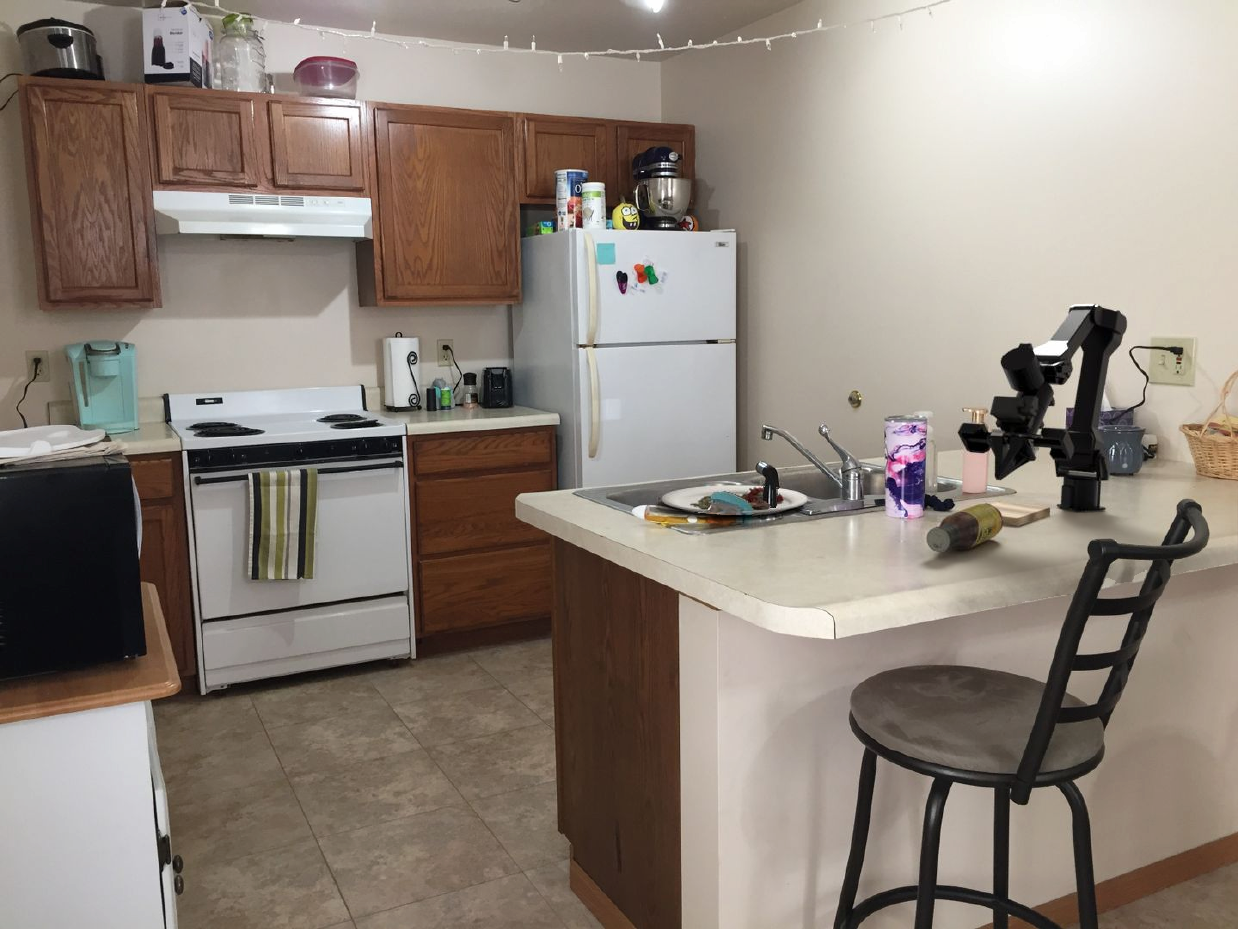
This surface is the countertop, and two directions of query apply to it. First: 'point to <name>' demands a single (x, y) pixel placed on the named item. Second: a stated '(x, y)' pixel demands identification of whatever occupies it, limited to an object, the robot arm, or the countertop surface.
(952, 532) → the sauce bottle
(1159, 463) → the countertop surface
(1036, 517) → the oak cutting board
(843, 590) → the countertop surface
